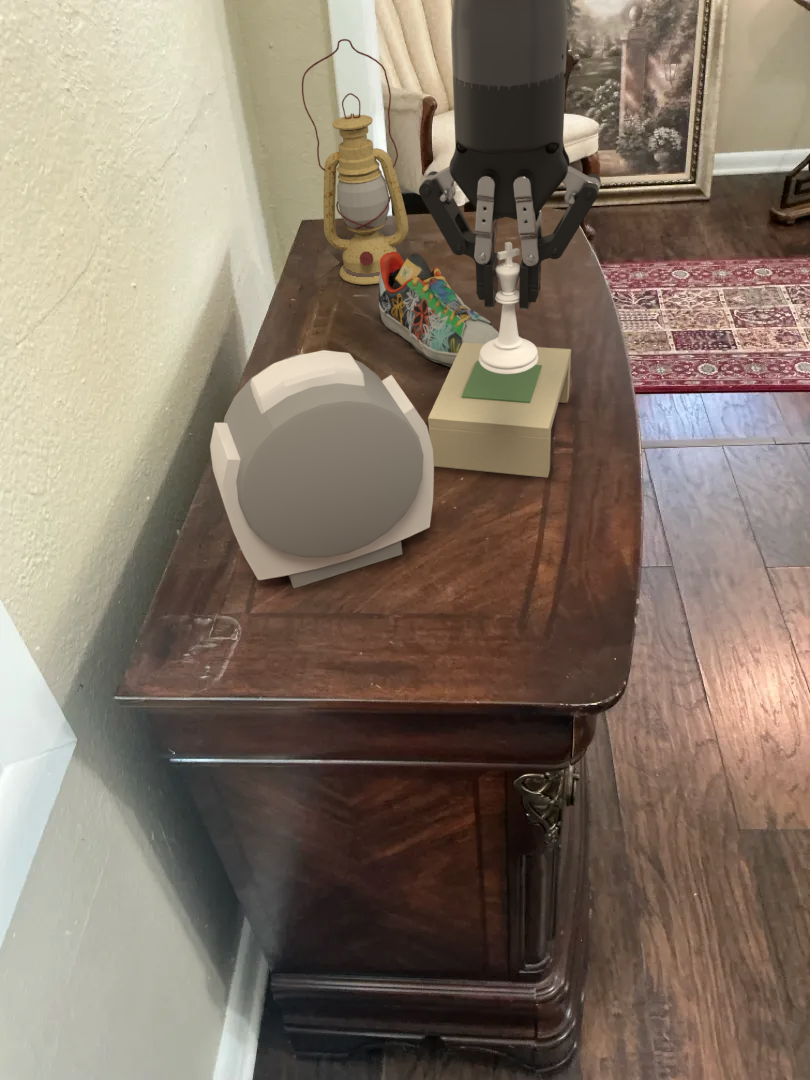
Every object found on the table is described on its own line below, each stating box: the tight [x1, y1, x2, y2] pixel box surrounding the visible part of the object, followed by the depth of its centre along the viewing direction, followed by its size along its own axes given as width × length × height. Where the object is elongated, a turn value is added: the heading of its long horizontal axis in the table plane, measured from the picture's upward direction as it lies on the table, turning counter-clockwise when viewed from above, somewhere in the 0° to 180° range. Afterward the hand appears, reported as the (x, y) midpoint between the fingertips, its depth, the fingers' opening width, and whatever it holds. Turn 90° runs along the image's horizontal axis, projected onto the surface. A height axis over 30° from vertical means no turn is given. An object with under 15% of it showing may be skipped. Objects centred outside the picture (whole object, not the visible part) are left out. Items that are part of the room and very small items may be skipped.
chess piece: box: [479, 241, 538, 374], centre depth 69 cm, size 5×5×10 cm
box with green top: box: [427, 343, 572, 479], centre depth 91 cm, size 12×15×6 cm
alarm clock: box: [209, 349, 435, 589], centre depth 74 cm, size 18×8×20 cm, turn 110°
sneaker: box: [378, 251, 499, 368], centre depth 105 cm, size 8×21×10 cm, turn 38°
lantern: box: [301, 38, 409, 285], centre depth 115 cm, size 12×10×30 cm
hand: (508, 302), depth 69 cm, fingers closed on chess piece
